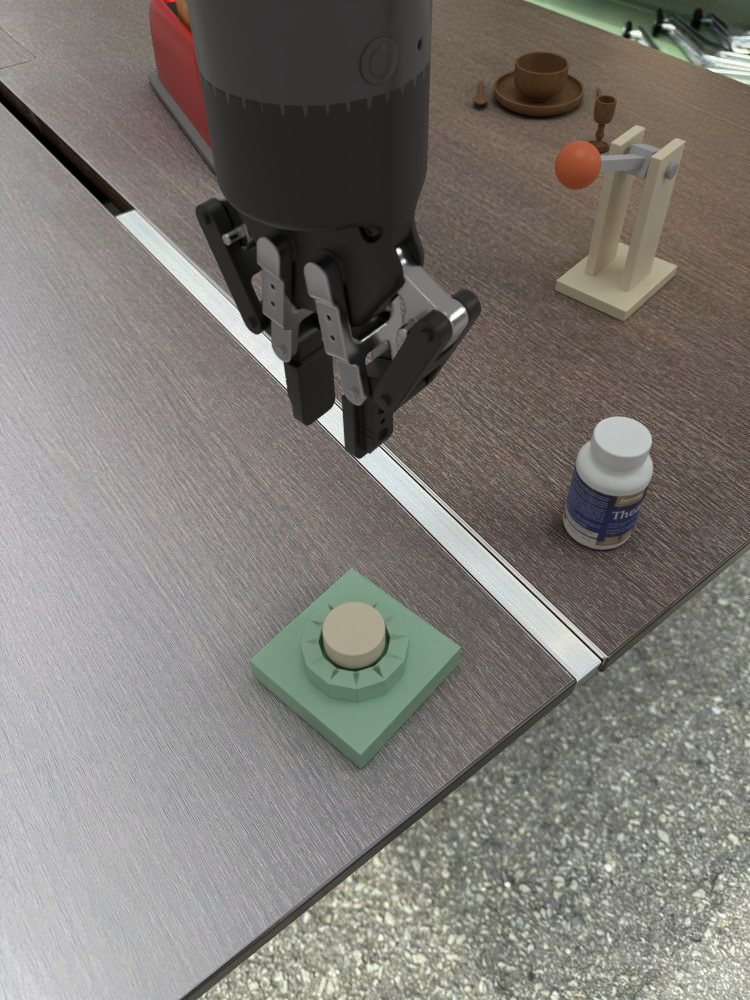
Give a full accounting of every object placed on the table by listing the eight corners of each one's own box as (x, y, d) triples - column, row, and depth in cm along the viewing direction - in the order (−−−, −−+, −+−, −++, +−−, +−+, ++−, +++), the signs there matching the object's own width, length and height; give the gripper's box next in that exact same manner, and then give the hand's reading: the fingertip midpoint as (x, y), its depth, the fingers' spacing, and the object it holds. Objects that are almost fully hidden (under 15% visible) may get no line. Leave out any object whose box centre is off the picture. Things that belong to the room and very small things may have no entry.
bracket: (623, 322, 82) (660, 178, 70) (554, 290, 85) (578, 148, 74) (674, 275, 86) (716, 134, 75) (606, 247, 90) (637, 108, 79)
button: (398, 639, 55) (398, 625, 53) (356, 681, 53) (355, 667, 51) (352, 605, 56) (351, 590, 55) (311, 644, 55) (309, 630, 53)
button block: (459, 663, 58) (463, 632, 55) (361, 770, 53) (359, 742, 50) (352, 584, 62) (350, 552, 59) (252, 676, 57) (245, 645, 54)
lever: (579, 197, 66) (595, 149, 64) (540, 182, 67) (555, 134, 65) (659, 187, 77) (675, 146, 75) (625, 174, 79) (640, 134, 77)
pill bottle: (607, 564, 63) (636, 476, 55) (548, 526, 65) (568, 438, 58) (645, 522, 65) (678, 433, 58) (587, 487, 68) (610, 398, 60)
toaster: (145, 81, 119) (112, -75, 104) (231, 63, 122) (210, -91, 108) (221, 185, 100) (192, 12, 85) (320, 160, 103) (308, -11, 89)
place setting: (602, 82, 116) (610, 36, 111) (614, 153, 103) (624, 105, 98) (474, 79, 117) (477, 33, 113) (470, 149, 104) (474, 100, 100)
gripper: (565, 62, 26) (506, 455, 39) (250, -37, 32) (292, 331, 45) (404, 157, 22) (400, 555, 35) (85, 24, 28) (183, 405, 41)
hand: (339, 428), depth 40 cm, fingers closed
